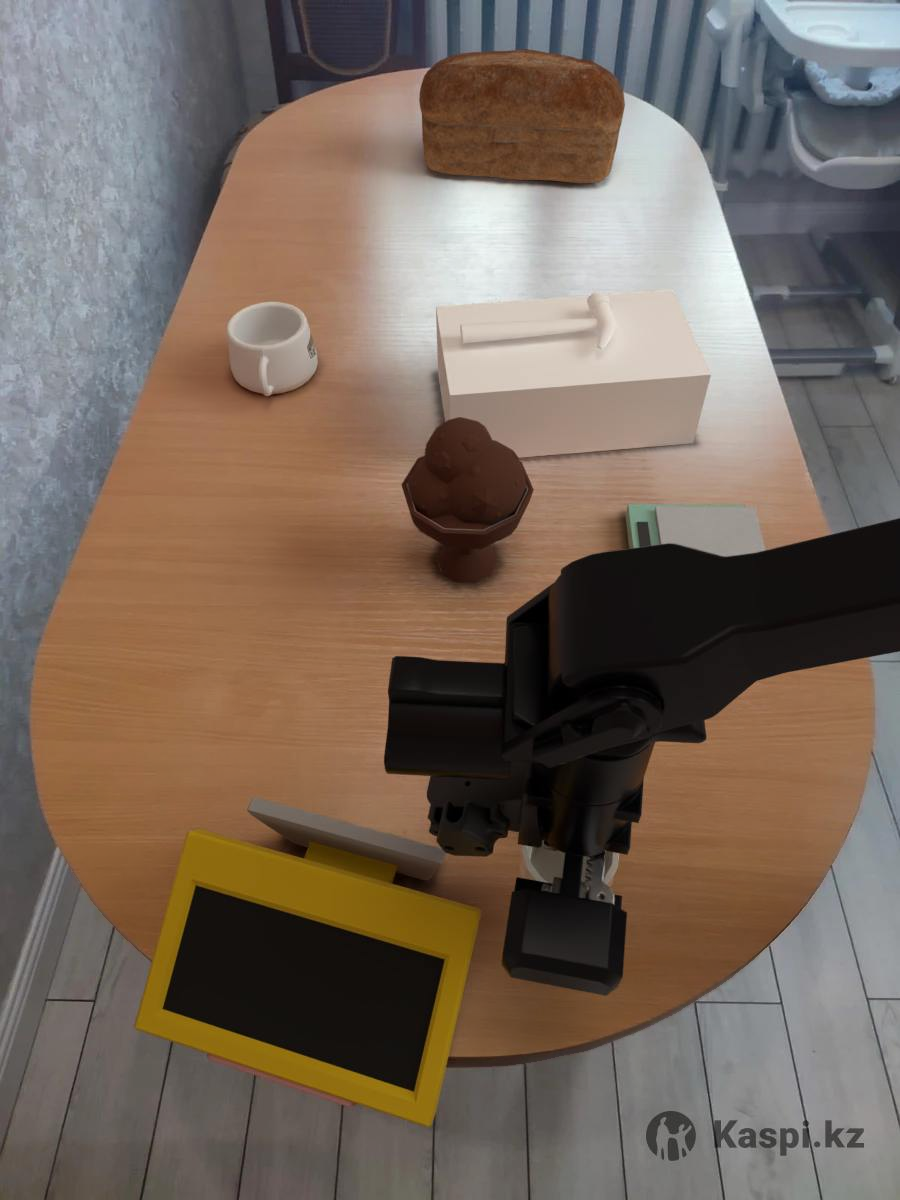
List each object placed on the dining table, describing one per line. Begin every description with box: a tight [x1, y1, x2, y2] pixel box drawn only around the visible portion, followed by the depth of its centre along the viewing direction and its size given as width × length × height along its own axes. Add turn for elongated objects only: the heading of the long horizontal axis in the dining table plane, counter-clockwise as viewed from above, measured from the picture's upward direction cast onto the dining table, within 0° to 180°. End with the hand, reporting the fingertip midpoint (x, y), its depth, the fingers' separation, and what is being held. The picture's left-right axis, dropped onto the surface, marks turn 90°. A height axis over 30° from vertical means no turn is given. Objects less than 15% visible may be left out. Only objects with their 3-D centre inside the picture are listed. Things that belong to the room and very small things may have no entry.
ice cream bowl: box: [400, 417, 534, 584], centre depth 77 cm, size 11×11×15 cm
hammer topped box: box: [435, 288, 712, 459], centre depth 91 cm, size 14×25×11 cm, turn 96°
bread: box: [418, 48, 626, 184], centre depth 123 cm, size 12×28×14 cm, turn 80°
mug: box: [226, 301, 319, 397], centre depth 97 cm, size 12×10×6 cm
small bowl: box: [518, 840, 620, 890], centre depth 57 cm, size 6×6×5 cm
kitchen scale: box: [624, 503, 767, 557], centre depth 81 cm, size 12×11×2 cm
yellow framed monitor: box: [134, 796, 482, 1128], centre depth 58 cm, size 20×8×16 cm
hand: (565, 869), depth 58 cm, fingers closed on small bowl, 6 cm apart
